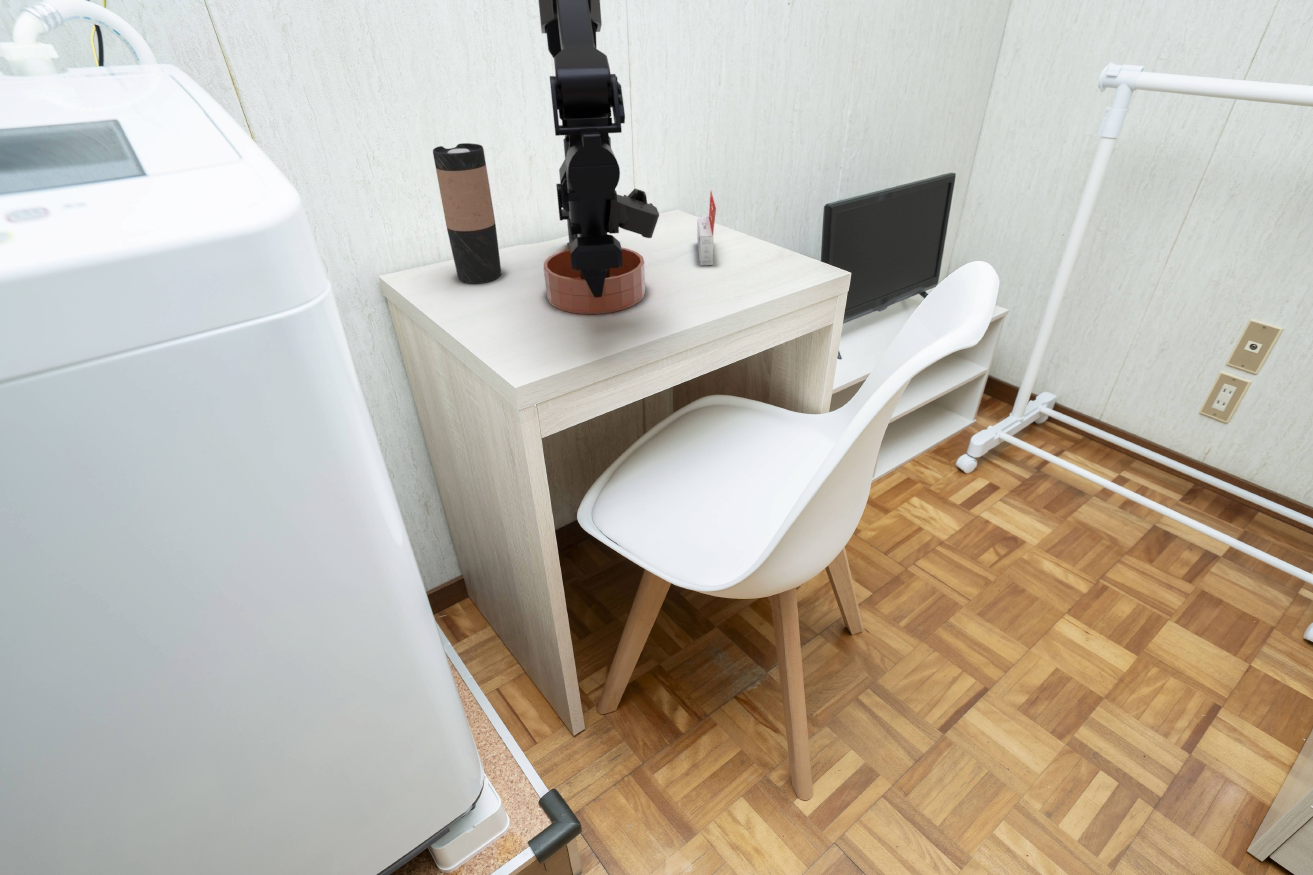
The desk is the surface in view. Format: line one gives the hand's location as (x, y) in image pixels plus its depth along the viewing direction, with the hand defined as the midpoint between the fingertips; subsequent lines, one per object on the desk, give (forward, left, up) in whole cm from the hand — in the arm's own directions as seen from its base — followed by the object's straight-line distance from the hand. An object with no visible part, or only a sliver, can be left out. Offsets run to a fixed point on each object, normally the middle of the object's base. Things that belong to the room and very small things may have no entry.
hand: (598, 296), depth 92 cm
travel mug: (-23, -19, -5) cm, 30 cm away
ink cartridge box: (-27, +20, -5) cm, 34 cm away
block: (-12, 0, -4) cm, 13 cm away
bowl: (-12, 0, -4) cm, 13 cm away
